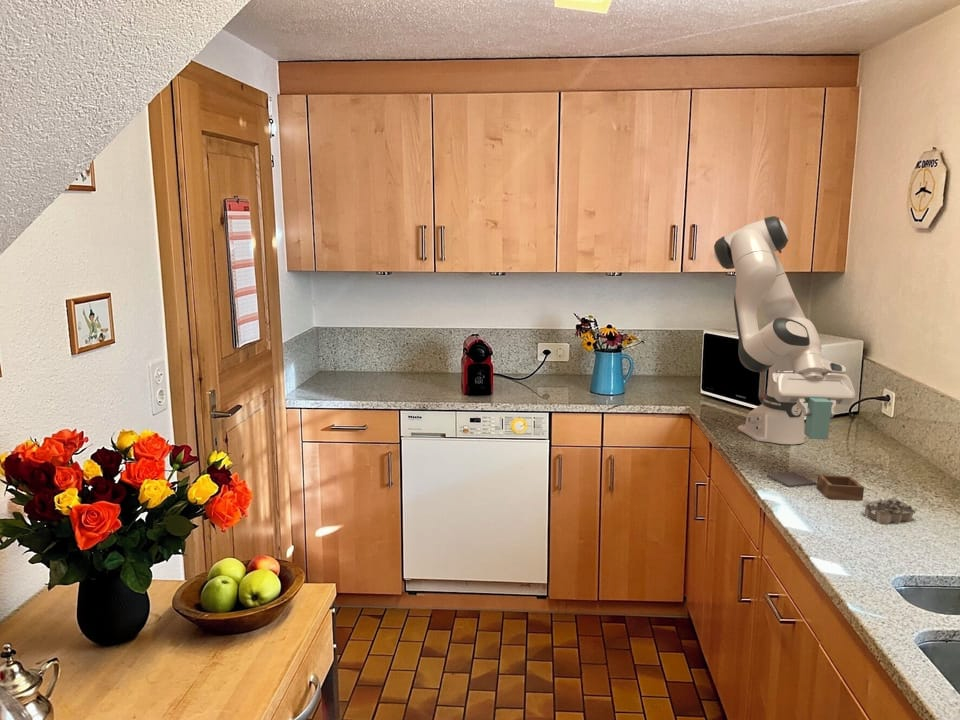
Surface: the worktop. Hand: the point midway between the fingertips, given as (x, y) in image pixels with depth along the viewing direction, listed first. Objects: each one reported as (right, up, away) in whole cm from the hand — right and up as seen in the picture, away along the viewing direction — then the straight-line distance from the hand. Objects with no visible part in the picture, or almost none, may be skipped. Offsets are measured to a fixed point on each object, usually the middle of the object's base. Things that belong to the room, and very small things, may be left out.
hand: (819, 415), depth 200 cm
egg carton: (+9, -23, -17) cm, 30 cm away
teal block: (0, -6, +2) cm, 6 cm away
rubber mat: (-4, -18, +7) cm, 20 cm away
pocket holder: (+4, -20, -3) cm, 21 cm away
